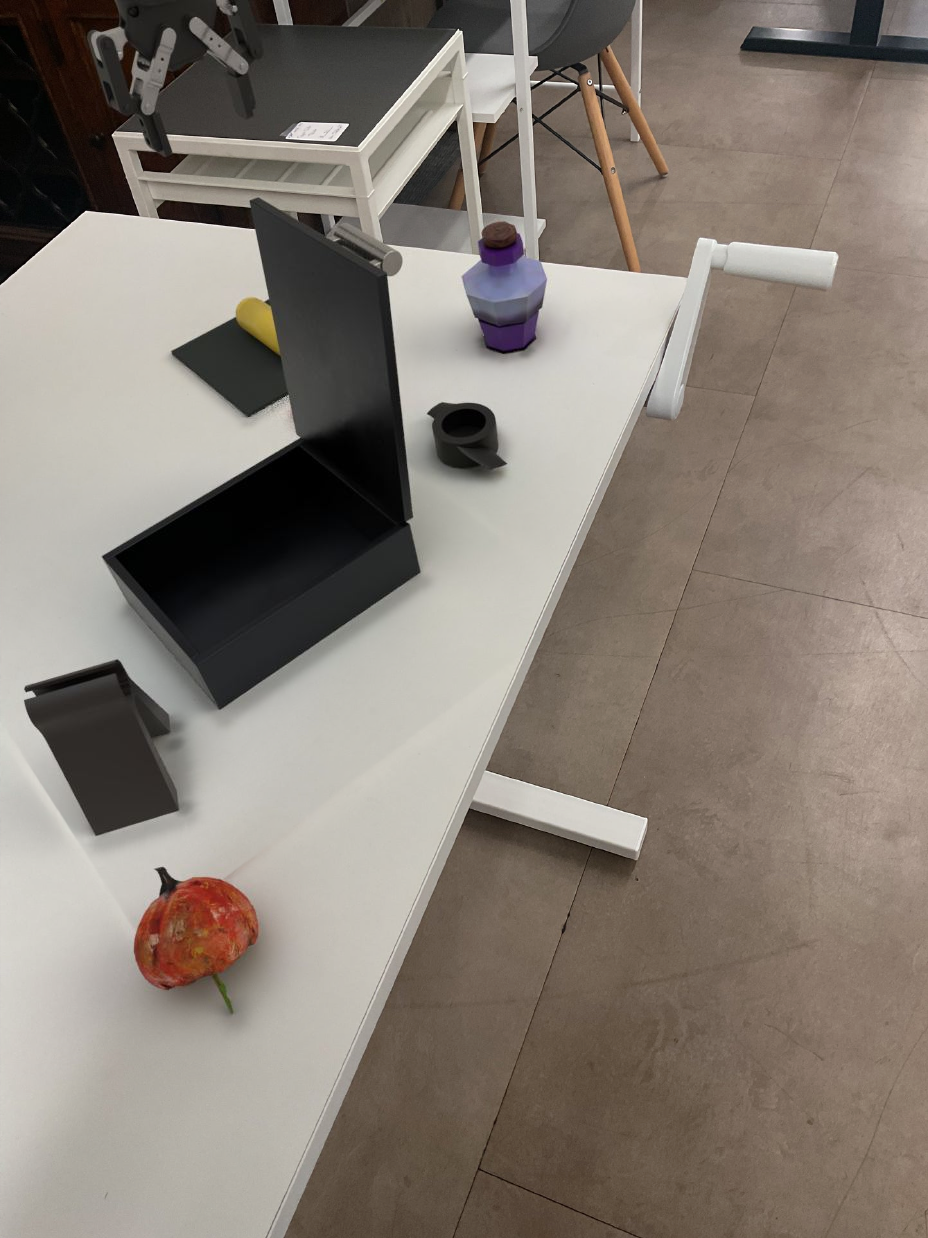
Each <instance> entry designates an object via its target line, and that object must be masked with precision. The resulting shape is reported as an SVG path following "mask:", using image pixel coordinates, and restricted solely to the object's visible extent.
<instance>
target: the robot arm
mask: <svg viewBox="0 0 928 1238" xmlns="http://www.w3.org/2000/svg"><path fill="white" fill-rule="evenodd" d="M114 2H115V4H116V7H117V9H118V15H119V22H118V23H119V24H118V27H115V28H110V29H108V30H105V31H98V30H96V29H91V30H89V32H87V36H86V39H87V43H88V46H89V49H90V52H91V55H92V58H93V59H92V60H93V61H94V66H95V69H96V71H97V75H98V78H99V81H100V84H101V87H102V91H103V94H104V97H105V100H106V104H107V105H108V106H109V107H110V108H111V109H113V110H116V111H117V112H119V113H120V114H122V115H123V116H127V117H128V116H130V115H135V117H136V120H137V122H138V125H139V128H140V131H141V133H142V136H143V140H144V141H145V144H146V145H147V146H148V148H149V149H150V150H152V151H154V152H156V153H157V154H159V155H161V156H162V157H164V158H166V157H168V156H170V155H173V149H172V146H171V143H170V140H169V137H168V134H167V131H166V129H165V125H164V122H163V119H162V117H161V114H160V111H157V110H155V108H156V105H157V101H158V97H159V92H160V89H162V88H163V87H164V85H165V80H166V76H167V71H170V72H172V73H173V72H176V71H179V70H181V69H182V68H184V67H185V66H186V65H187V64H190V63H198V62H200V61H203V60H204V59H205V57H204V56H205V55H206V54H209V55H210V56H211V57H213V58H214V59H215V60H216V61H217V62H219V63H220V64H221V65H223V66H224V67H225V68H226V71H224V72H223V74H224V78H225V81H226V84H227V88H228V91H229V95H230V99H231V102H232V105H233V109H234V111H235V114H236V116H238V117H239V118H241V119H243V120H246V121H247V120H250V119H251V118H254V117H255V115H254V109H256V104H257V103H256V98H255V95H254V91H253V87H252V83H251V79H250V76H249V68H250V66H251V65H252V64H253V62H255V60H260V59H262V57H263V56H264V53H265V52H264V46H263V44H262V40H261V37H260V34H259V30H258V27H257V24H256V21H255V17H254V14H253V10H252V8H251V4H250V1H249V0H114ZM218 7H219V10H220V12H222V13H223V14H226V16H227V19H228V22H229V25H230V28H231V32H232V36H233V37H234V41H235V44H236V47H235V48H233V47H232V46H231V45H230V44H229V43H228V42H226V41H225V39H223V38H222V37H221V36H220V35H218V34H217V33H216V32H215V31H214V25H215V22H216V17H217V14H218V13H217V12H218ZM125 44H127V45H129V46H130V47H131V48H132V49H134V50H135V54H134V58H133V62H132V68H131V75H132V81H131V84H130V90H129V87H128V83H127V80H126V77H125V74H124V71H123V67H122V64H121V60H123V58H124V46H125Z"/></svg>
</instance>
